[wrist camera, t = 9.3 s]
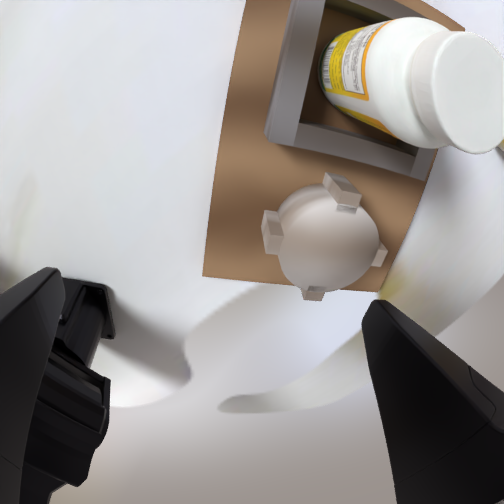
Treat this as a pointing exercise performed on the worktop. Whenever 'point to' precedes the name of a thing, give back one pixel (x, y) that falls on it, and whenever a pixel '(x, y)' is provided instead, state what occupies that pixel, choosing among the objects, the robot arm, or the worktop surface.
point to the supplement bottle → (418, 83)
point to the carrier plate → (308, 158)
